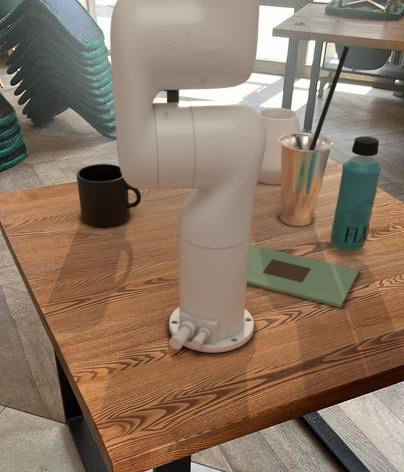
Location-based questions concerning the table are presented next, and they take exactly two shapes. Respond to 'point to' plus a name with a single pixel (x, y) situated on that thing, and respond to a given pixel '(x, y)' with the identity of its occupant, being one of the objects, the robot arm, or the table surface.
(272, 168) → the cup
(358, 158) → the beverage bottle
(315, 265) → the mat
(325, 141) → the copper tumbler with straw
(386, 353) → the table surface
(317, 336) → the table surface
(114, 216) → the mug
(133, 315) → the table surface
